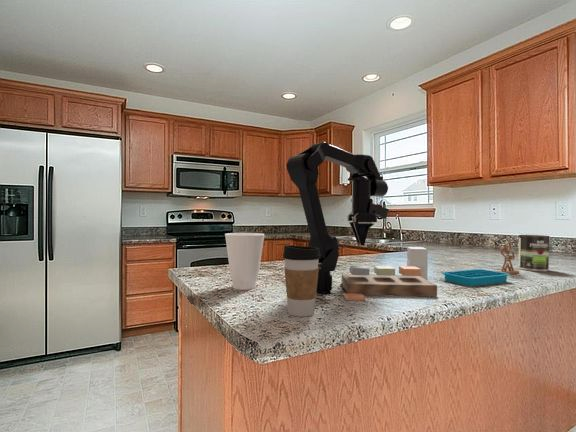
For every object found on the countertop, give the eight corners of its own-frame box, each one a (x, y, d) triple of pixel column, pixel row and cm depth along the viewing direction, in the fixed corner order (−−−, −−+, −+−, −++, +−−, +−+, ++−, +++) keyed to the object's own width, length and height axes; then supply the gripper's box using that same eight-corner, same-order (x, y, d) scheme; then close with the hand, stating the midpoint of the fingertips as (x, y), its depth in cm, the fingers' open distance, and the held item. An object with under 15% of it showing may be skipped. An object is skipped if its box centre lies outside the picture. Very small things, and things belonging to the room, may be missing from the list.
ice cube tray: (439, 281, 114) (439, 272, 114) (479, 277, 122) (479, 268, 122) (470, 288, 104) (470, 278, 104) (512, 283, 112) (512, 274, 112)
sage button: (377, 275, 98) (377, 268, 98) (374, 272, 103) (374, 265, 103) (395, 275, 98) (395, 268, 98) (390, 272, 103) (390, 266, 103)
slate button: (352, 274, 99) (352, 268, 99) (349, 272, 104) (349, 265, 104) (369, 275, 98) (369, 268, 98) (365, 272, 103) (366, 265, 103)
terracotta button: (403, 275, 98) (403, 268, 98) (398, 272, 103) (398, 266, 103) (421, 276, 98) (421, 269, 98) (415, 272, 103) (415, 266, 103)
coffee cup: (281, 307, 79) (281, 244, 79) (316, 307, 80) (317, 244, 80) (283, 319, 71) (284, 247, 71) (323, 318, 71) (323, 247, 71)
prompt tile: (345, 300, 86) (345, 298, 86) (343, 295, 91) (343, 293, 91) (365, 300, 86) (365, 298, 86) (361, 295, 91) (361, 293, 91)
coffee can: (554, 272, 133) (555, 236, 133) (526, 271, 134) (526, 235, 134) (539, 267, 143) (540, 234, 143) (513, 267, 145) (513, 234, 144)
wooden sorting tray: (348, 294, 92) (348, 283, 92) (341, 283, 107) (341, 274, 107) (436, 296, 91) (437, 285, 91) (417, 284, 106) (417, 275, 106)
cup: (259, 282, 108) (259, 232, 108) (268, 290, 97) (269, 234, 97) (221, 284, 105) (222, 232, 104) (227, 292, 93) (227, 235, 93)
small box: (427, 280, 114) (427, 249, 114) (410, 279, 115) (410, 248, 115) (423, 275, 122) (423, 246, 122) (406, 275, 123) (407, 246, 123)
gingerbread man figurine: (509, 271, 132) (509, 241, 132) (519, 273, 129) (520, 242, 128) (495, 273, 128) (495, 242, 128) (505, 275, 124) (506, 243, 124)
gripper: (395, 194, 98) (394, 247, 98) (379, 197, 116) (379, 242, 116) (356, 193, 98) (355, 247, 98) (347, 197, 117) (347, 241, 117)
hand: (360, 244), depth 107 cm, fingers open, 6 cm apart
